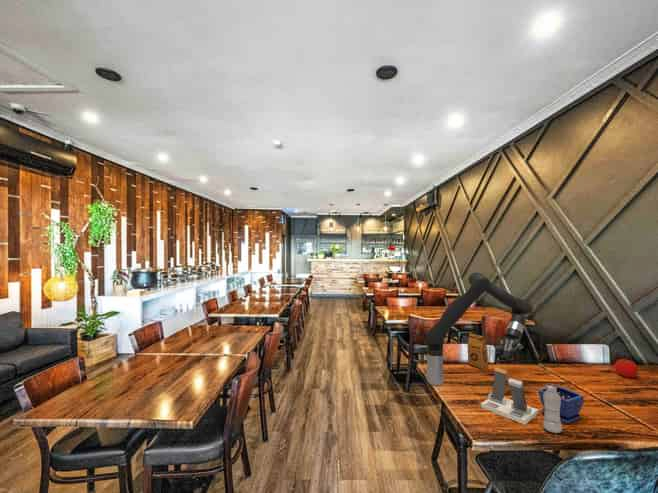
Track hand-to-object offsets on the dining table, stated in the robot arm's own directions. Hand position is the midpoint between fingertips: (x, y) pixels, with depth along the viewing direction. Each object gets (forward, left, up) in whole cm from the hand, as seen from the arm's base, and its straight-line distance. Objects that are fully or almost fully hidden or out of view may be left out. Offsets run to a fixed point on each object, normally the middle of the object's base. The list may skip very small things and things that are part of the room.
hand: (505, 357), depth 160 cm
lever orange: (-9, -7, -19) cm, 22 cm away
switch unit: (-6, -11, -22) cm, 26 cm away
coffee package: (+10, +48, -22) cm, 54 cm away
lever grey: (-3, -16, -19) cm, 25 cm away
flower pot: (+15, -18, -22) cm, 33 cm away
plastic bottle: (+2, -29, -22) cm, 37 cm away
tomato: (+95, +27, -22) cm, 101 cm away
